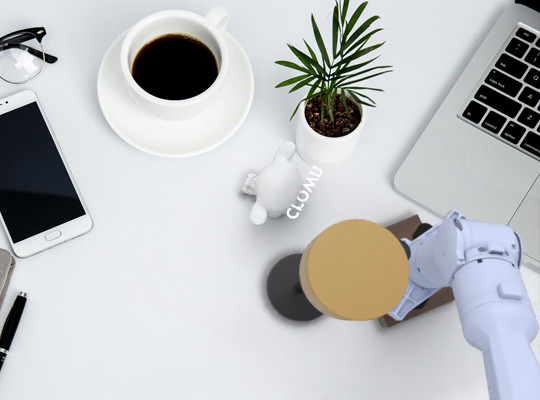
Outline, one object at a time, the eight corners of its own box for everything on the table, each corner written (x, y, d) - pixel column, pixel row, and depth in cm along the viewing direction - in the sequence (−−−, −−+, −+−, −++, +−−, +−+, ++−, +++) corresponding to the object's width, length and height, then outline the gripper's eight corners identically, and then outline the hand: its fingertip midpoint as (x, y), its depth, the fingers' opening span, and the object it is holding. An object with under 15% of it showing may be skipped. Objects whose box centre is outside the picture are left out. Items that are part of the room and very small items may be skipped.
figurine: (233, 225, 87) (298, 249, 83) (214, 208, 80) (285, 233, 75) (265, 150, 89) (331, 170, 85) (250, 126, 82) (321, 146, 77)
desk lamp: (343, 305, 83) (510, 292, 36) (271, 335, 82) (343, 361, 35) (316, 244, 84) (440, 153, 37) (245, 273, 84) (280, 218, 37)
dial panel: (450, 299, 82) (459, 298, 79) (382, 327, 82) (388, 328, 79) (410, 217, 84) (418, 213, 81) (344, 244, 84) (348, 242, 81)
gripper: (445, 185, 68) (408, 207, 81) (373, 293, 66) (347, 297, 79) (501, 222, 67) (454, 238, 80) (430, 332, 65) (394, 329, 78)
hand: (404, 269), depth 80 cm, fingers closed on dial knob, 4 cm apart
